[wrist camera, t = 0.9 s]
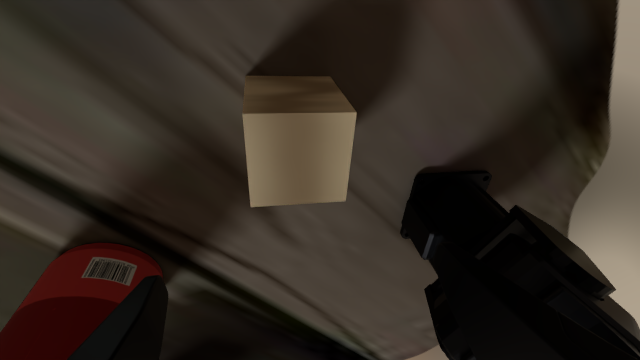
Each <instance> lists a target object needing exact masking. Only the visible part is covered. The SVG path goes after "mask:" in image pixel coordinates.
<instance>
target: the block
mask: <svg viewBox="0 0 640 360" xmlns="http://www.w3.org/2000/svg"><path fill="white" fill-rule="evenodd" d="M356 114H357V112H356V111H355V109H354V108H353V107H352V105H351V104H350V103H349V101H348V100H347V99H346V97H345V96H344V95H343V93H342V92H341V91H340V89H339V88H338V86H337V85H336V84H335V82H334V81H333V80H332V78H331V77H330V76H246V79H245V91H244V103H243V124H244V136H245V148H246V159H247V171H248V182H249V194H250V205H251V207H262V206H277V205H293V204H308V203H324V202H339V201H346V194H347V186H348V178H349V170H350V162H351V154H352V146H353V138H354V130H355V122H356Z"/></svg>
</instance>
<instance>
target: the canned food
mask: <svg viewBox="0 0 640 360" xmlns="http://www.w3.org/2000/svg"><path fill="white" fill-rule="evenodd" d="M153 275H160V276H161V277H162V279H163V274H162V270H161V268H160V266H159V265H158V264H157V262H156V261H155V260H154V259H152V258H151V257H150V256H149V255H147V254H145V253H143V252H142V251H140V250H137V249H134V248H132V247H128V246H124V245H120V244H113V243H92V244H85V245H81V246H77V247H75V248H72V249H70V250H68V251H66V252H65V253H63V254H62V255H61V256H59V257H58V258H57V259H55V260H54V261H53V262H51V263H50V265H49V266H48V267H47V268H46V270H45V271H44V273H43V274H42V275H41V277H40V278H39V280H38V281H37V282H36V284H35V285H34V287H33V288H32V289H31V291H30V292H29V293H28V295H27V296H26V298H25V299H24V300H23V302H22V303H21V305H20V306H19V307H18V309H17V310H16V312H15V313H14V314H13V316H12V317H11V319H10V320H9V321H8V323H7V324H6V326H5V327H4V328H3V330H2V331H1V332H0V360H67V359H68V357H69V356H70V355H71V354H72V353H73V352H74V351H75V350H76V349H77V348H78V347H79V346H80V345H81V344H82V343H83V342H84V341H85V340H86V338H87V337H88V336H89V335H90V334H91V333H92V332H93V331H94V330H95V329H96V328H97V327H98V326H99V325H100V324H101V323H102V322H103V321H104V319H105V318H106V317H107V316H108V315H109V314H110V313H111V312H112V311H113V310H114V309H115V308H116V307H117V306H118V305H119V304H120V303H121V301H122V300H123V299H124V298H125V297H126V296H127V295H128V294H129V293H130V292H131V291H132V290H133V289H134V288H135V287H136V286H137V285H138V284H139V282H140V281H141V280H142V279H143V278H145V277H146V276H153Z"/></svg>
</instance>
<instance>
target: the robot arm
mask: <svg viewBox="0 0 640 360" xmlns="http://www.w3.org/2000/svg"><path fill="white" fill-rule="evenodd" d="M491 177H492V175H491V174H490V173H489V172H488V171H467V172H446V173H426V174H419V175H417V176H416V177H415V179H414V182H413V186H412V190H411V194H410V197H409V200H408V201H407V204H406V208H405V212H404V216H403V220H402V228H401V231H400V234H401V236H402V237H403V238H404V239H409V238H410V239H411V240H412V242H413V244H414V245H415V247H416V249H417V251H418V252H419V254H420V256H421V257H422V258H423V259H424V260H429V262H430V263H431V265H432V267H433V268H434V270H435V272H436V273H437V275H438V279H437V280H436V281H435V282H434V283H432V284H429V285H428V286H427V287H426V288H425V289H424V290H425V294H426V298H427V302H428V306H429V309H430V313H431V317H432V321H433V325H434V329H435V333H436V336H437V339H438V342H439V345H440V347H441V349H442V351H443V352H444V353H445V354H446V356H447V357H448V358H449V360H640V329H639V327H638V324H637V322H636V321H635V319H634V318H633V317H632V316H631V315H630V314H629V313H628V312H627V311H626V310H625V309H623V308H622V307H621V306H620V305H619V304H618V303H616V302H615V301H614V300H613V299H612V298H610V297H609V296H608V295H609V294H611V293H612V292H614V291H615V290H616V289H615V288H614V286H613V285H612V284H611V283H610V282H609V280H608V279H607V278H606V277H605V276H604V275H603V273H602V272H601V271H600V270H599V269H598V268H597V267H596V265H595V264H594V263H593V262H592V261H591V260H590V258H589V257H588V256H587V255H586V254H585V252H584V251H583V250H581V249H580V248H579V247H578V246H576V245H575V244H574V243H573V242H571V241H570V240H569V239H568V238H566V237H565V236H564V235H563V234H561V233H560V232H559V231H558V230H556V229H555V228H554V227H552V226H551V225H549V224H547V223H546V222H544V221H542V220H541V219H539V218H537V217H536V216H534V215H532V214H531V213H529V212H527V211H526V210H524V209H522V208H521V207H519V206H517V205H515V206H514V207H513V208H512V209H511V210H510V213H508V212H507V211H506V210H505V209H504V208H503V207H502V206H501V205H500V204H499V203H497V202H496V201H495V200H494V199H493V198H492V197H491V196H490V195H489V194H488V193H487V192H486V189H487V187H488V185H489V182H490V180H491ZM422 179H423V180H422ZM420 180H422V181H421V182H420ZM167 304H168V291H167V289H166V286H165V284H164V281H163V279H162V277H161V276H160V275H153V276H146V277H145V278H143V279H142V280H141V281H140V282H139V284H138V285H137V286H136V287H135V288H134V289H133V290H132V291H131V292H130V293H129V294H128V295H127V296H126V297H125V298H124V299H123V300H122V301H121V303H120V304H119V305H118V306H117V307H116V308H115V309H114V310H113V311H112V312H111V313H110V314H109V315H108V316H107V317H106V318H105V319H104V321H103V322H102V323H101V324H100V325H99V326H98V327H97V328H96V329H95V330H94V331H93V332H92V333H91V334H90V335H89V336H88V337H87V338H86V340H85V341H84V342H83V343H82V344H81V345H80V346H79V347H78V348H77V349H76V350H75V351H74V352H73V353H72V354H71V355H70V356H69V357H68V359H67V360H159V356H160V352H161V347H162V340H163V333H164V326H165V319H166V312H167Z"/></svg>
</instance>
